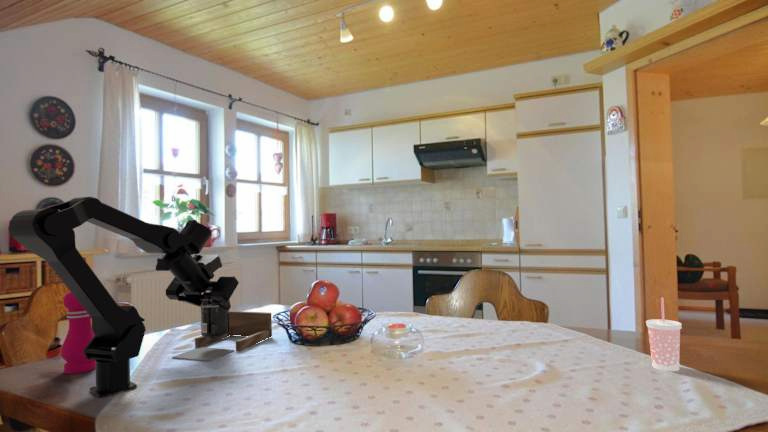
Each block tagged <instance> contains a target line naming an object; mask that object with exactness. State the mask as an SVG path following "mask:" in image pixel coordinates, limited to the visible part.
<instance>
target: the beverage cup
mask: <svg viewBox="0 0 768 432" xmlns="http://www.w3.org/2000/svg"><path fill="white" fill-rule="evenodd" d="M660 304H661V305H660V306H661V308H660V309H661V318H660V319H659V318H657V319H656V318H655V319H654V318H653V319H648V320H647V319H646V320H645V324H646V327H647V330H648V331H647V332H648V342H649V347H650V355H651V356H650V358H651V364H652V365H651V367H652V368H654V369H656V370H658V371H659V370H660V371H665V372H677V371H680V351H681V349H680V347H681V330H682V323H681V322H679V321H677V320H670V319H665V317H666V316H665V299H664V297H663V296H662V297H660Z"/></svg>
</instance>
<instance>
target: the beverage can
mask: <svg viewBox="0 0 768 432" xmlns="http://www.w3.org/2000/svg"><path fill="white" fill-rule="evenodd" d="M201 294H202V296H201V307H200V336H203V337H205V338H207V339H217V338H222V337H224V336H226V335H227V334H228V333H229V311H230V309H229V310H227V309H225V308H223V307H221V306H219V305H217V304H215V303H213V302H211V301H212V300H213V298H212V297H211V291H206V292H205V293H201Z"/></svg>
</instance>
